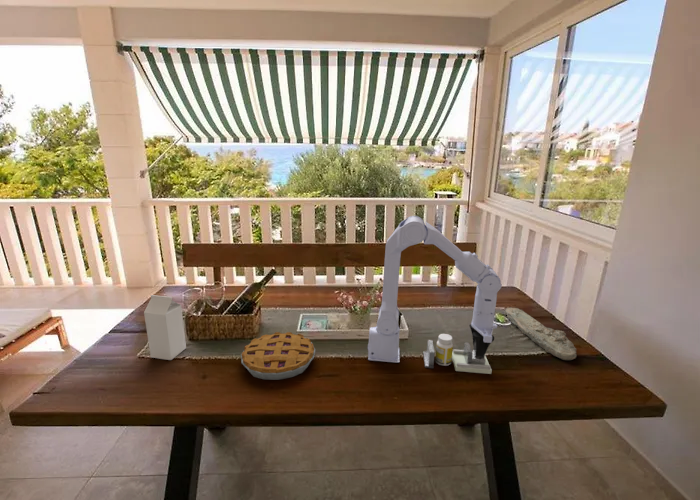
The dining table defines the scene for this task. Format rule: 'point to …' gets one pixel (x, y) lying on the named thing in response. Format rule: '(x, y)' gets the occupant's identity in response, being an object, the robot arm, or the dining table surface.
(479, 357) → the grey boxy piece
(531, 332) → the long grey stone
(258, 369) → the pie
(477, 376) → the dining table surface
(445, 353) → the supplement bottle
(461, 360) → the bed
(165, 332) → the milk carton
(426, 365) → the jaw
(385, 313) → the robot arm
